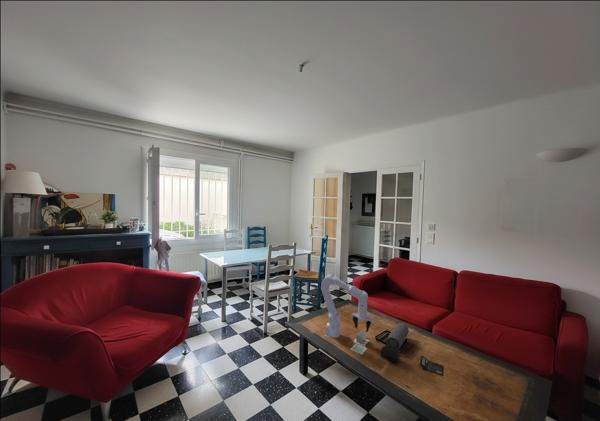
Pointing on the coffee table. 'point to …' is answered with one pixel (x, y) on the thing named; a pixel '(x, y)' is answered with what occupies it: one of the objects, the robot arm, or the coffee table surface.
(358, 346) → the stand
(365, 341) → the stand
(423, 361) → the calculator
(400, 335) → the bluetooth speaker
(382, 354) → the end cap
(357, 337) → the block
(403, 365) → the coffee table surface
